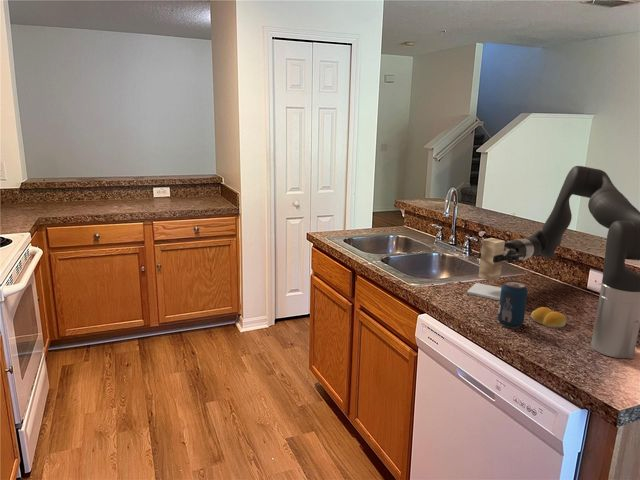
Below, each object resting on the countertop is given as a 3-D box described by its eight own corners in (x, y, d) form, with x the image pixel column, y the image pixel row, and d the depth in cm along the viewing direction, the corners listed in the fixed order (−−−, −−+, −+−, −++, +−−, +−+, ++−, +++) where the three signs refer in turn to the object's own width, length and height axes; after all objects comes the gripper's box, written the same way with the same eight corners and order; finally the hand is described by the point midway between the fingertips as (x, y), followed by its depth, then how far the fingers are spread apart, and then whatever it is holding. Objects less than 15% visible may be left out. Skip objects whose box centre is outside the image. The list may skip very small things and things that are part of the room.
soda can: (520, 320, 138) (525, 281, 135) (525, 330, 131) (531, 289, 128) (495, 317, 139) (500, 278, 136) (499, 327, 132) (504, 286, 130)
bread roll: (556, 331, 131) (558, 317, 130) (526, 320, 138) (528, 307, 137) (572, 324, 136) (574, 311, 135) (542, 314, 143) (544, 301, 142)
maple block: (500, 278, 158) (504, 240, 155) (491, 281, 156) (495, 242, 152) (487, 274, 162) (491, 237, 159) (478, 277, 160) (482, 239, 156)
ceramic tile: (508, 291, 162) (508, 289, 161) (500, 300, 153) (501, 298, 153) (475, 284, 167) (476, 282, 167) (466, 293, 159) (466, 291, 158)
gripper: (500, 235, 170) (469, 241, 160) (538, 244, 159) (507, 251, 149) (498, 255, 172) (467, 262, 162) (535, 265, 160) (504, 274, 151)
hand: (487, 257), depth 156 cm, fingers closed on maple block, 5 cm apart
